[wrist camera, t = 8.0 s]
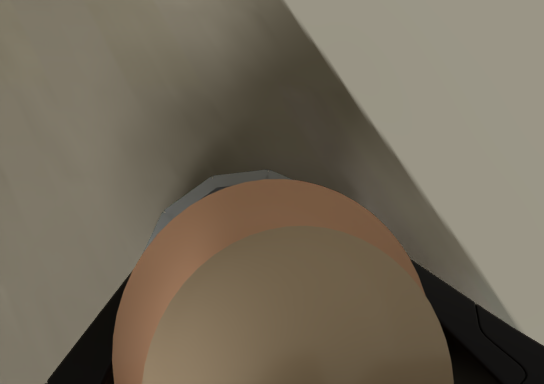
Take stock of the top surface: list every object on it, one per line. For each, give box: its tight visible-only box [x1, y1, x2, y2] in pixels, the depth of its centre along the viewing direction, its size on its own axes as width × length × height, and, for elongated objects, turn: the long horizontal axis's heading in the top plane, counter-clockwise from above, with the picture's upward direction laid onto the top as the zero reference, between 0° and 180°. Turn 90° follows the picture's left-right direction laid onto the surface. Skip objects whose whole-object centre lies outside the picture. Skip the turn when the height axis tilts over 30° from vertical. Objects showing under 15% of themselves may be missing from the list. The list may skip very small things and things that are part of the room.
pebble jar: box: [112, 179, 454, 384], centre depth 10 cm, size 6×6×12 cm
